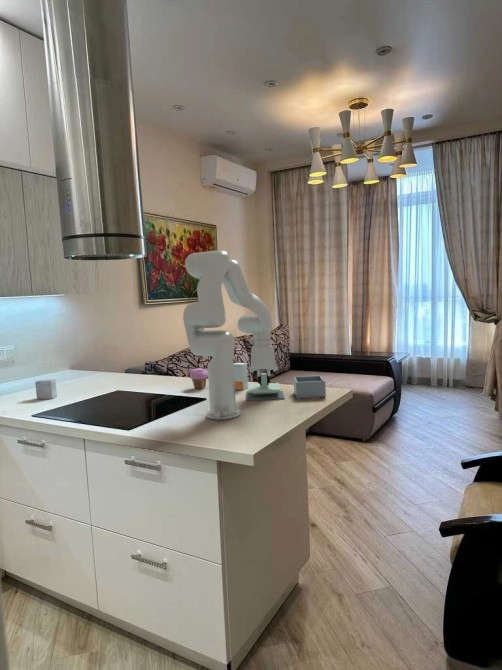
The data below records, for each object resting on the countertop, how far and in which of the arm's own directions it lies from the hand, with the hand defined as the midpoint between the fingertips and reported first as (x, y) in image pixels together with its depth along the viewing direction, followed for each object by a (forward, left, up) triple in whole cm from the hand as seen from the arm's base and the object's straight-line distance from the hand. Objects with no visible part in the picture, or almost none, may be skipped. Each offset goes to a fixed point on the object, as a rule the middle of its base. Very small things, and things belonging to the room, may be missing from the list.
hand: (264, 384), depth 190 cm
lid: (0, 0, -2) cm, 2 cm away
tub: (-3, -19, -5) cm, 20 cm away
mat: (0, 0, -5) cm, 5 cm away
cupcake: (+22, +31, -5) cm, 38 cm away
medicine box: (+17, +103, -5) cm, 104 cm away
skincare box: (+17, +11, -5) cm, 21 cm away
